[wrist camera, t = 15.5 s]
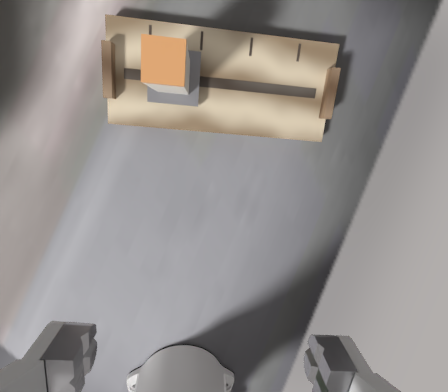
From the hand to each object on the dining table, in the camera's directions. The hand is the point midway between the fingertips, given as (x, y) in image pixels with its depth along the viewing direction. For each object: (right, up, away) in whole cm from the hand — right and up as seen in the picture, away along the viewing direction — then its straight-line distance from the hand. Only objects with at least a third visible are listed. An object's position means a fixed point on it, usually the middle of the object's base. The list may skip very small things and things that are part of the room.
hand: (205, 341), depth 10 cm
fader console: (0, +20, +26) cm, 33 cm away
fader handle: (-5, +20, +23) cm, 31 cm away
